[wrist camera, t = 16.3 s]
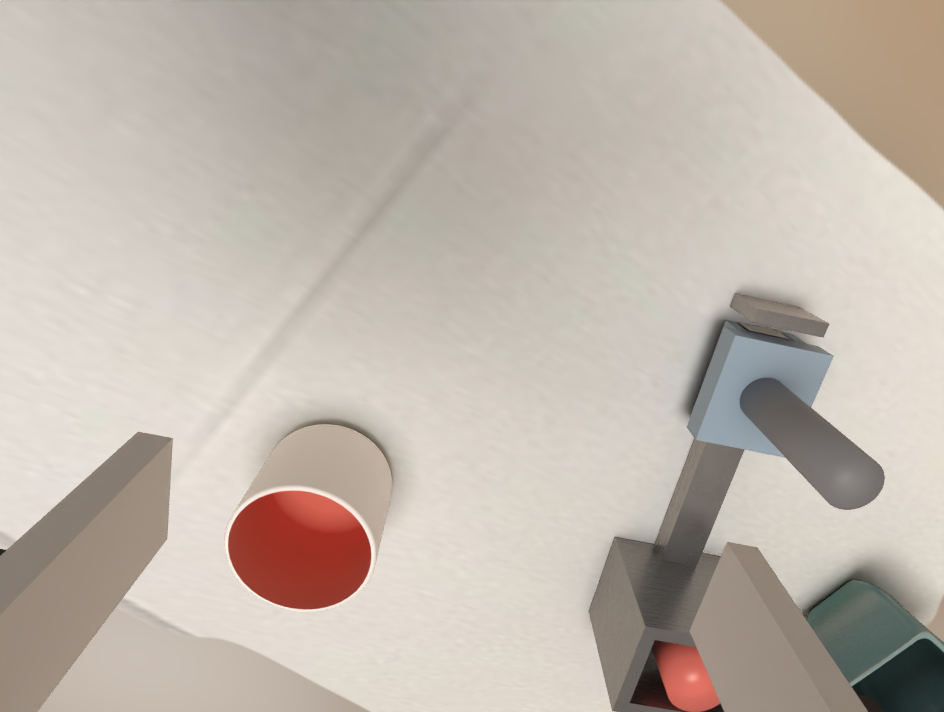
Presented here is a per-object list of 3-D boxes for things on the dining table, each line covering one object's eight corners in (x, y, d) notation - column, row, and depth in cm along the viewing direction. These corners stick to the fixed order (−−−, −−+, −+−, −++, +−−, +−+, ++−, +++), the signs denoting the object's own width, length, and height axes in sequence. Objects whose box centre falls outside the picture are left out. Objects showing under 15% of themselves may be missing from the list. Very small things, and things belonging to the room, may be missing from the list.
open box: (614, 536, 52) (645, 626, 43) (730, 558, 53) (785, 650, 44) (588, 611, 55) (612, 710, 46) (698, 630, 56) (744, 732, 46)
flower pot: (773, 613, 55) (828, 700, 47) (854, 550, 53) (927, 630, 44) (836, 663, 57) (899, 756, 49) (917, 605, 55) (998, 691, 46)
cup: (418, 489, 51) (405, 571, 42) (321, 544, 53) (287, 634, 43) (344, 395, 48) (313, 459, 39) (244, 457, 50) (191, 532, 41)
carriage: (713, 318, 45) (821, 403, 31) (804, 337, 46) (950, 429, 32) (678, 415, 48) (763, 534, 34) (764, 432, 49) (882, 556, 35)
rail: (734, 293, 45) (758, 308, 41) (799, 307, 45) (829, 323, 42) (643, 542, 52) (656, 574, 49) (699, 552, 53) (717, 585, 49)
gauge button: (658, 607, 48) (678, 660, 43) (713, 617, 48) (739, 670, 43) (641, 651, 49) (658, 706, 45) (694, 660, 50) (717, 716, 45)
